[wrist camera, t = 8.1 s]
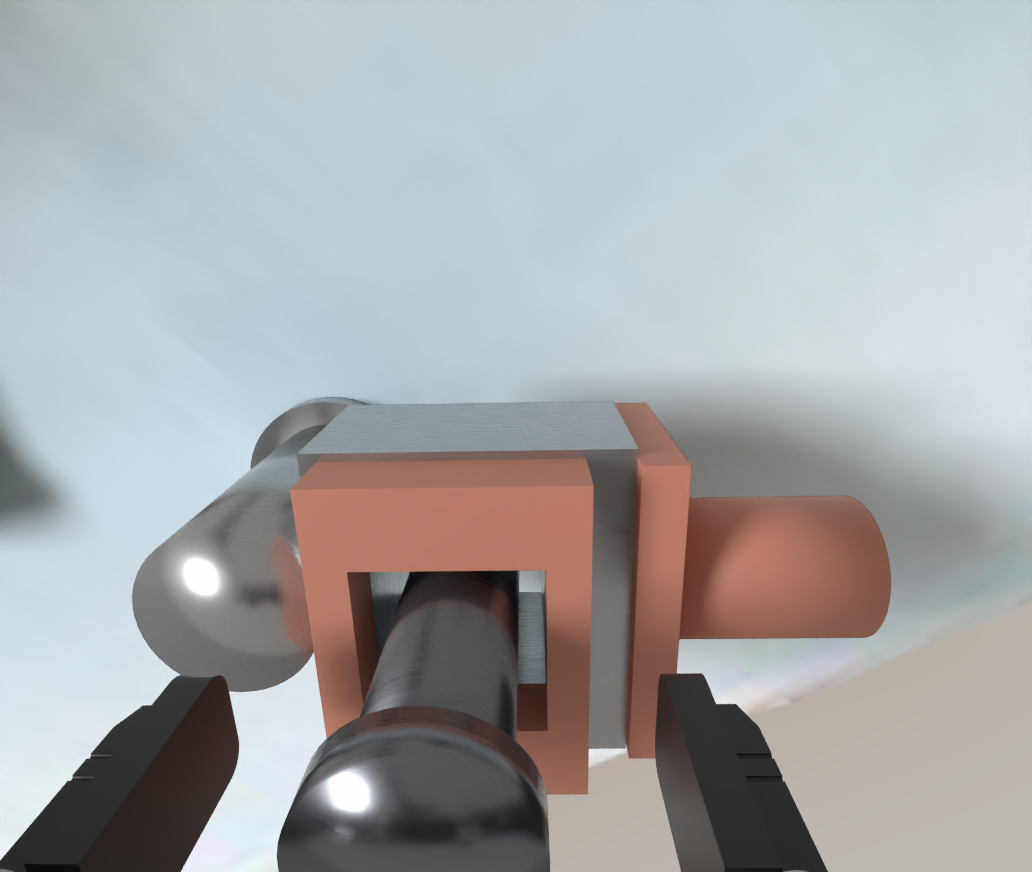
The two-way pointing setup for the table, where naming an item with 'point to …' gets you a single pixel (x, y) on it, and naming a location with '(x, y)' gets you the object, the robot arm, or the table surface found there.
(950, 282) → the table surface
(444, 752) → the steel pin
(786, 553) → the bracket
